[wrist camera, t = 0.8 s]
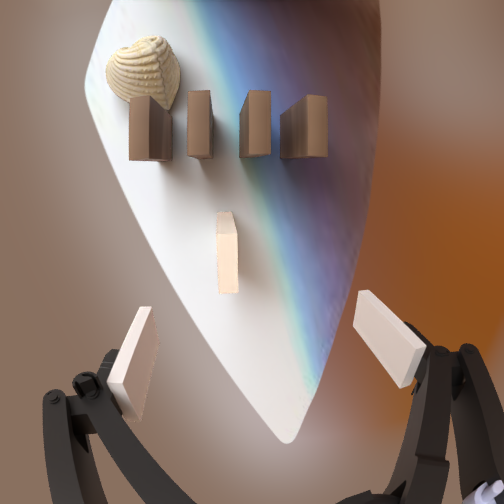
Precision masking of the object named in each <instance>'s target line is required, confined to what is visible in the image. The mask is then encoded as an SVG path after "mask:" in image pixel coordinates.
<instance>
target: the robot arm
mask: <svg viewBox="0 0 504 504" xmlns="http://www.w3.org/2000/svg"><path fill="white" fill-rule="evenodd" d="M353 327H354V328H355V329H356V331H357V332H358V333H359V334H360V336H361V337H362V338H363V340H364V341H365V343H366V344H367V345H368V346H369V348H370V349H371V350H372V352H373V353H374V354H375V356H376V357H377V358H378V360H379V361H380V362H381V364H382V365H383V366H384V368H385V369H386V370H387V372H388V373H389V375H390V376H391V377H392V379H393V380H394V381H395V383H396V384H397V386H398V387H399V388H403V387H406V386H409V385H411V382H412V380H413V378H414V377H415V378H416V379H417V383H416V385H415V387H414V389H413V391H412V393H411V395H413V393H414V396H413V402H412V406H411V411H410V416H409V420H408V424H407V428H406V432H405V436H404V440H403V443H402V447H401V450H400V453H399V457H398V460H397V463H396V466H395V469H394V472H393V475H392V477H391V480H390V483H389V485H388V486H387V488H386V489H385V491H384V493H383V494H371V491H370V490H368V491H366V492H363V493H360V494H357V495H354V496H351V497H348V498H345V499H344V500H342V501H340V502H338V503H336V504H441V503H442V499H443V495H444V491H445V486H446V482H447V477H448V472H449V465H450V463H449V461H446V460H445V455H446V448H447V441H448V433H449V424H450V412H451V417H452V421H453V427H454V434H455V440H456V447H457V455H458V465H459V476H460V489H461V494H462V499H463V502H462V504H504V412H503V409H502V406H501V403H500V400H499V398H498V395H497V392H496V390H495V387H494V384H493V382H492V380H491V377H490V375H489V372H488V370H487V368H486V366H485V364H484V361H483V359H482V357H481V355H480V353H479V351H478V349H477V348H476V347H475V346H474V345H472V344H467V343H466V344H463V345H461V347H460V349H459V351H457V352H450V351H449V350H448V349H447V348H445V347H443V346H433V345H432V344H431V343H430V342H429V341H428V340H427V339H426V338H425V337H424V336H423V335H421V333H420V332H419V331H417V329H416V328H415V327H414V326H413V325H411V324H409V323H407V322H402V321H401V320H400V319H399V318H398V317H397V316H396V315H395V314H394V313H393V312H392V311H391V310H389V308H387V307H386V306H385V305H384V304H383V303H382V302H381V301H380V300H379V299H378V298H377V297H376V296H375V295H374V294H373V293H371V292H370V291H369V290H362V291H359V293H358V300H357V305H356V311H355V317H354V323H353ZM159 344H160V341H159V338H158V333H157V329H156V324H155V320H154V315H153V311H152V307H140V308H139V310H138V312H137V314H136V317H135V318H134V321H133V323H132V325H131V327H130V329H129V331H128V333H127V336H126V338H125V340H124V342H123V344H122V347H121V349H120V350H117V349H112V350H110V351H109V352H108V353H107V354H106V355H105V357H104V359H103V363H102V364H101V366H100V368H99V370H98V372H97V374H95V373H93V372H83V373H80V374H78V375H77V376H76V377H75V378H74V380H73V382H72V384H73V388H74V389H75V391H76V393H77V395H75V396H66V395H65V393H63V391H61V390H58V389H54V390H51V391H49V392H48V393H46V394H45V396H44V397H43V436H44V450H45V459H46V467H47V475H48V481H49V487H50V492H51V497H52V501H53V504H108V502H107V500H106V497H105V494H104V491H103V488H102V485H101V482H100V478H99V475H98V472H97V468H96V465H95V461H94V457H93V453H92V449H91V445H90V440H89V435H88V434H95V433H98V435H99V437H100V439H101V440H102V442H103V444H104V445H105V447H106V449H107V450H108V452H109V453H110V455H111V457H112V458H113V459H114V461H115V463H116V464H117V466H118V467H119V469H120V470H121V472H122V473H123V474H124V476H125V477H126V479H127V480H128V481H129V483H130V484H131V486H132V487H133V488H134V489H135V491H136V492H137V493H138V495H139V496H140V497H141V498H142V500H143V501H144V502H145V503H146V504H196V503H195V502H194V501H193V500H192V499H191V498H190V497H189V496H188V495H187V494H186V493H185V492H184V491H182V489H181V488H180V487H179V486H178V485H177V484H176V483H175V482H174V481H173V480H172V479H171V478H170V477H169V476H168V475H167V474H166V473H165V471H164V470H163V469H162V468H161V467H160V466H159V465H158V463H157V462H156V461H155V460H154V459H153V458H152V456H151V455H150V454H149V453H148V451H147V450H146V449H145V448H144V447H143V445H142V444H141V443H140V441H139V440H138V439H137V437H136V436H135V435H134V434H133V432H132V431H131V429H130V428H129V427H128V425H127V424H126V422H125V421H124V420H123V418H122V414H123V416H124V418H125V419H126V420H127V421H135V422H140V421H141V418H142V413H143V409H144V404H145V400H146V396H147V391H148V387H149V383H150V379H151V375H152V371H153V367H154V363H155V359H156V356H157V351H158V348H159Z"/></svg>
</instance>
